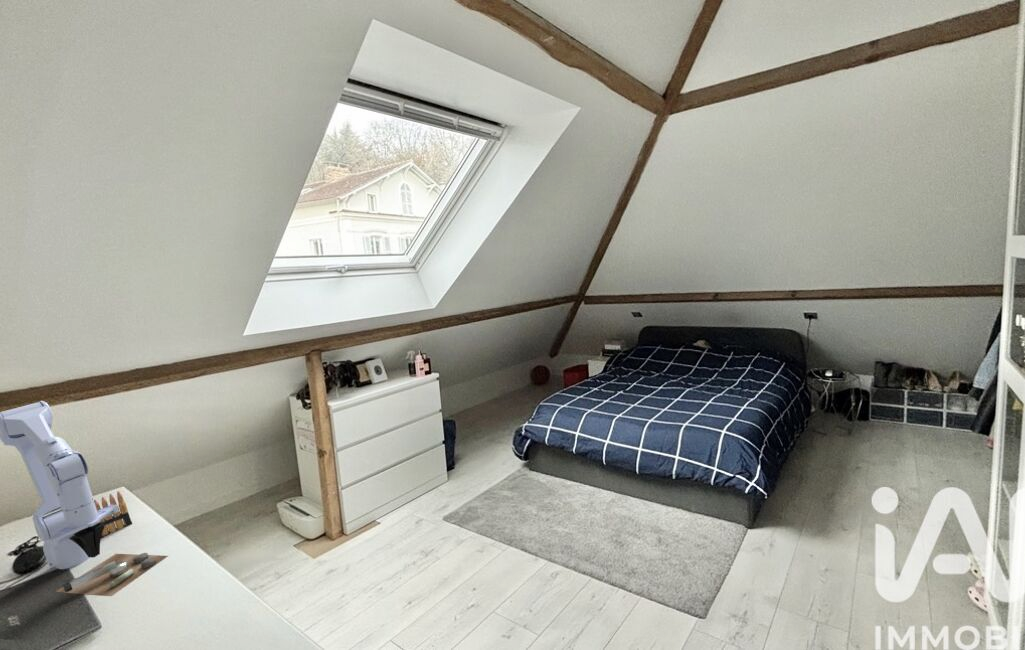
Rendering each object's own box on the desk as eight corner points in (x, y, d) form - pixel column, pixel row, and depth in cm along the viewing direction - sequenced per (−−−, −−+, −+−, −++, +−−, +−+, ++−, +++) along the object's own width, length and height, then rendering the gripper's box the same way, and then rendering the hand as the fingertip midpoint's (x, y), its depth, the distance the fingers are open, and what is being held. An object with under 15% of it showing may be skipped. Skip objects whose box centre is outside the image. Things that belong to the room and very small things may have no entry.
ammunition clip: (87, 547, 136) (74, 508, 134) (86, 544, 137) (73, 506, 135) (133, 527, 144) (122, 490, 142) (132, 525, 145) (121, 488, 143)
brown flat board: (56, 596, 115) (53, 586, 114) (117, 557, 128) (114, 548, 127) (112, 600, 110) (109, 590, 109) (169, 560, 123) (166, 550, 123)
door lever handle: (67, 601, 110) (63, 587, 109) (65, 595, 112) (61, 582, 112) (130, 571, 118) (126, 558, 118) (127, 566, 121) (123, 553, 120)
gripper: (55, 522, 107) (72, 577, 110) (121, 488, 121) (135, 537, 123) (33, 522, 109) (50, 575, 112) (100, 488, 123) (115, 536, 125)
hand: (94, 555), depth 118 cm, fingers closed
